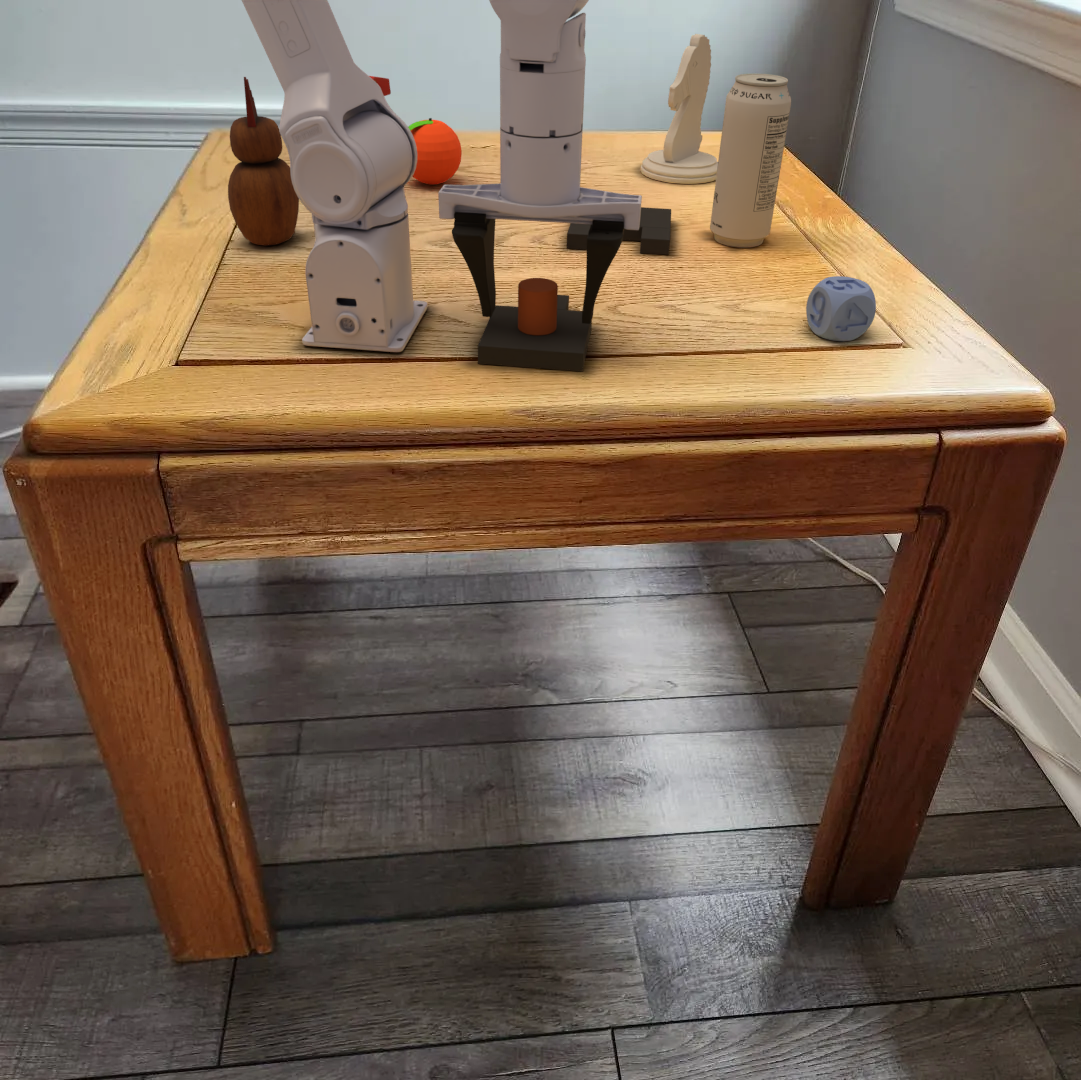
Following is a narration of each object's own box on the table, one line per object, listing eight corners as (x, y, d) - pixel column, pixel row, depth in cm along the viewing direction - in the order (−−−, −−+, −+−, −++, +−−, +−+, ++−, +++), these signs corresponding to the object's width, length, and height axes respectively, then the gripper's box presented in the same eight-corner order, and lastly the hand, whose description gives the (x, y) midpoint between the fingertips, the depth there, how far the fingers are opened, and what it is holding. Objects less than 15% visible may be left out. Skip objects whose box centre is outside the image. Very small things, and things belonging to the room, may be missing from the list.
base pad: (668, 255, 93) (670, 239, 92) (566, 248, 94) (567, 233, 93) (670, 223, 101) (671, 208, 100) (576, 217, 102) (576, 203, 101)
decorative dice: (870, 339, 78) (881, 291, 75) (826, 344, 77) (836, 296, 74) (843, 319, 81) (854, 274, 78) (801, 324, 80) (810, 278, 77)
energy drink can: (724, 226, 100) (746, 69, 92) (778, 238, 98) (805, 77, 89) (698, 240, 96) (717, 78, 88) (752, 253, 94) (778, 87, 85)
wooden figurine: (284, 254, 91) (260, 82, 82) (227, 248, 92) (198, 77, 83) (311, 231, 96) (292, 68, 87) (258, 226, 97) (233, 64, 88)
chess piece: (625, 173, 116) (635, 35, 107) (665, 157, 122) (678, 26, 114) (697, 188, 111) (713, 46, 102) (734, 171, 118) (753, 35, 109)
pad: (582, 371, 72) (586, 308, 69) (477, 364, 72) (476, 300, 69) (594, 313, 81) (597, 255, 78) (501, 307, 81) (500, 249, 78)
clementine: (418, 197, 106) (414, 129, 102) (383, 183, 110) (378, 117, 106) (474, 185, 111) (473, 119, 106) (439, 172, 115) (436, 108, 111)
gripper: (648, 120, 68) (634, 301, 76) (449, 110, 70) (455, 290, 77) (645, 144, 63) (630, 337, 70) (428, 133, 64) (437, 324, 72)
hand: (538, 315), depth 74 cm, fingers open, 7 cm apart
